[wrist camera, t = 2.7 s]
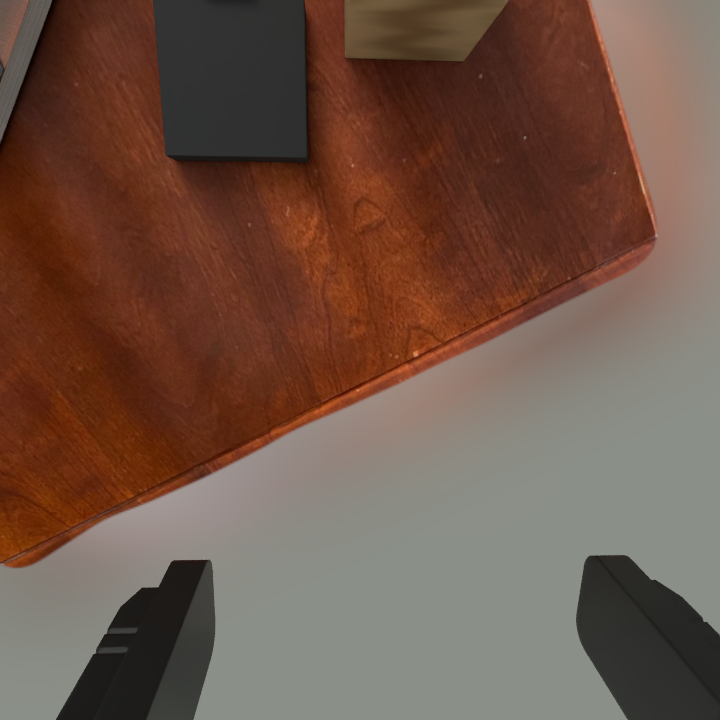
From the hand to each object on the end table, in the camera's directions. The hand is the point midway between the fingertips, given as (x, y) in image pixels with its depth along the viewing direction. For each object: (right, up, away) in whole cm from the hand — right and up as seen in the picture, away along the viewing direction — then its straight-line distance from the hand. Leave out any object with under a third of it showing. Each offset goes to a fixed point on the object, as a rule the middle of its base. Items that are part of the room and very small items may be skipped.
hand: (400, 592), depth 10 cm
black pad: (-9, +27, +21) cm, 35 cm away
